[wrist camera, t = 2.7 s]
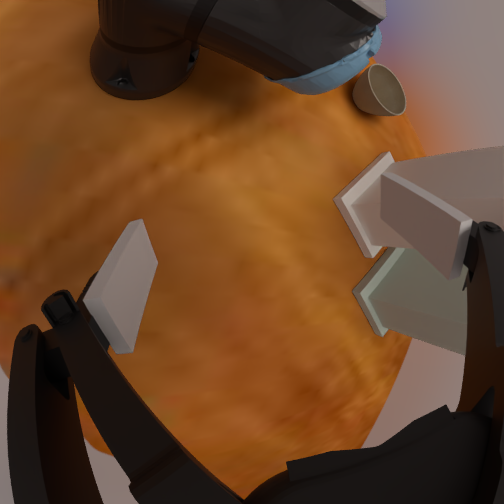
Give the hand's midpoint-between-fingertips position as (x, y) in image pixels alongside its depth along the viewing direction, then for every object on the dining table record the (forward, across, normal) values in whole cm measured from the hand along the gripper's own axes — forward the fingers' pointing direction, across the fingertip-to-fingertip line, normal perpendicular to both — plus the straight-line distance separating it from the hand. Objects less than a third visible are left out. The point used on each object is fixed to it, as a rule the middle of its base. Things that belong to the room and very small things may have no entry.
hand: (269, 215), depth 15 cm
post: (+24, +24, -28) cm, 44 cm away
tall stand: (+29, +22, -14) cm, 39 cm away
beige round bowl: (+37, +25, +4) cm, 45 cm away
